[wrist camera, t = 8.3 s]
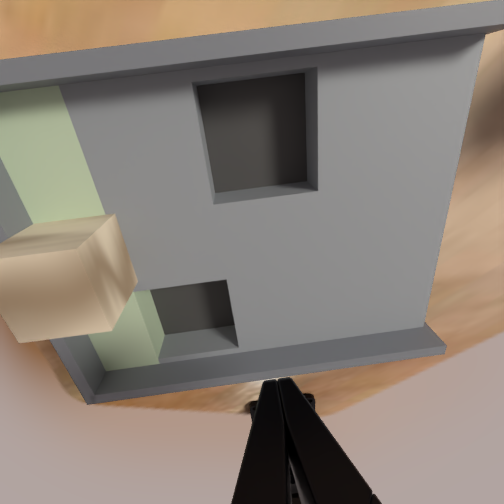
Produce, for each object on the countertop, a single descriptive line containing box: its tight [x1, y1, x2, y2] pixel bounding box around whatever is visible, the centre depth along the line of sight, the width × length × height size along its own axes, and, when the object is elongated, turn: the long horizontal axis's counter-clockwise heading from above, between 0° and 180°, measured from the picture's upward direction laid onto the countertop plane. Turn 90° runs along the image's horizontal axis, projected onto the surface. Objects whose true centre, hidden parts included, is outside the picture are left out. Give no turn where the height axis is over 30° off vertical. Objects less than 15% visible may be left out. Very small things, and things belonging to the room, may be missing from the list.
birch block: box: [0, 214, 138, 343], centre depth 15 cm, size 4×4×4 cm
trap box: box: [0, 0, 504, 405], centre depth 18 cm, size 20×25×5 cm
